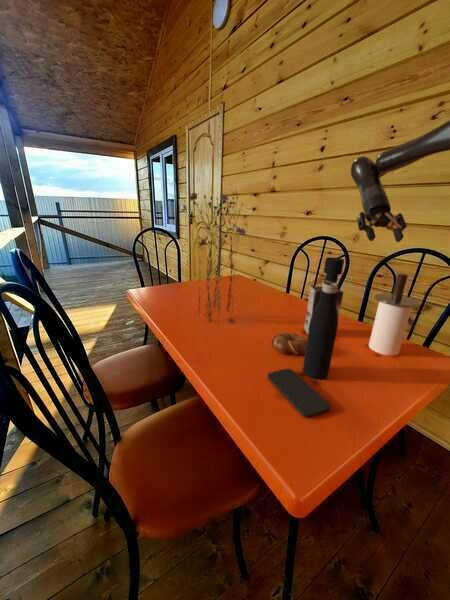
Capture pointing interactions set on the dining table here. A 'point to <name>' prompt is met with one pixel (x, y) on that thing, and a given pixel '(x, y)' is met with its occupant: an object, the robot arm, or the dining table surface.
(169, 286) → the dining table surface
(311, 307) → the coffee box
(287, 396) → the phone
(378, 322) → the cup
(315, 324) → the dark water bottle
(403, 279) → the lid
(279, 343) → the pretzel
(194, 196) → the wildflower
